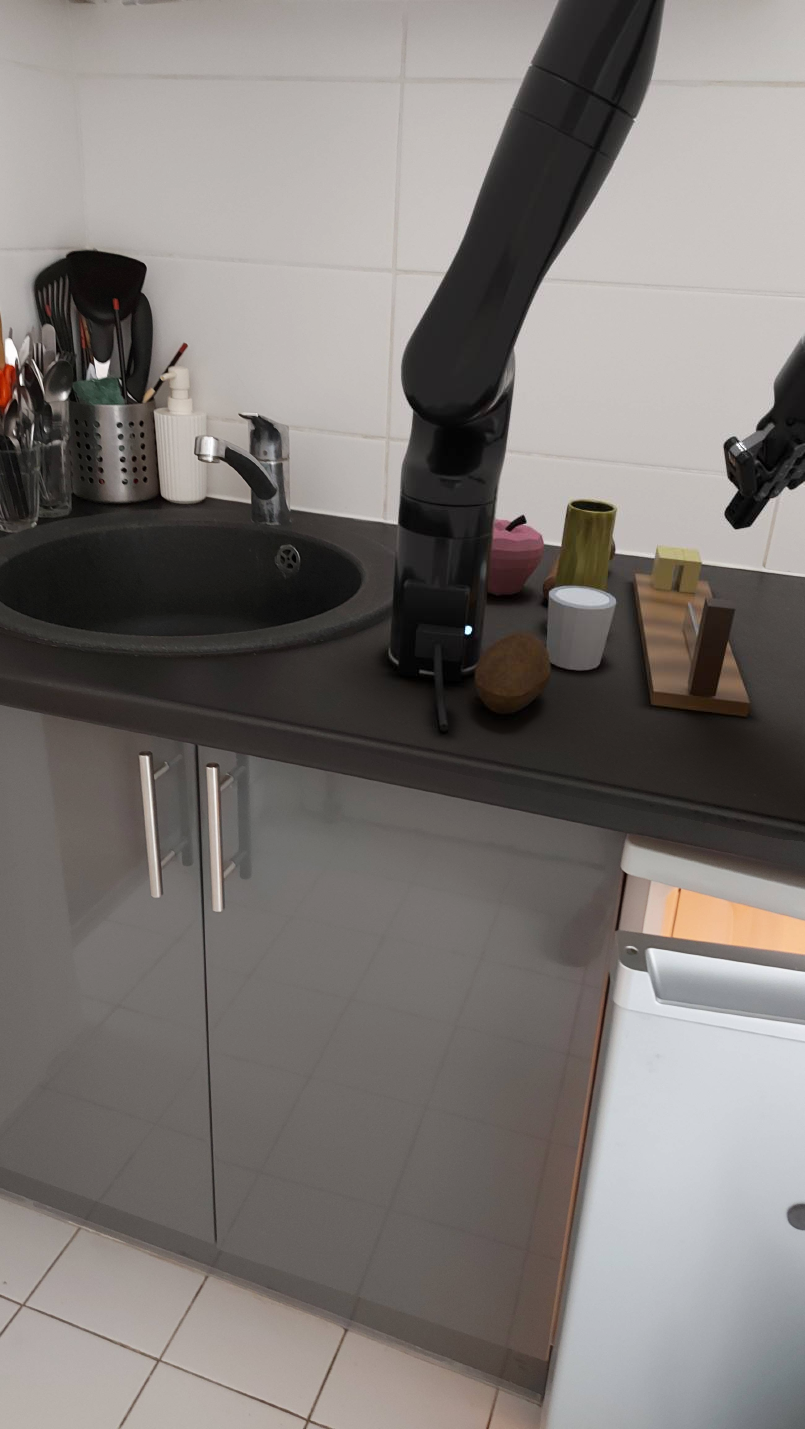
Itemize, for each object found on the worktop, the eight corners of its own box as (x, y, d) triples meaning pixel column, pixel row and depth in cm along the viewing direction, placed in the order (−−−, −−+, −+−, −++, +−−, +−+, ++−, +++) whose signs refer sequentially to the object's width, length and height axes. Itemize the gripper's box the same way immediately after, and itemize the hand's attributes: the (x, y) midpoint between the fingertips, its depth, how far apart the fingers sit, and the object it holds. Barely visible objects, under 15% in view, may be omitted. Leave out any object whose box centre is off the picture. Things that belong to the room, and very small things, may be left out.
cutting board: (746, 717, 96) (750, 702, 95) (650, 705, 97) (653, 691, 96) (704, 592, 128) (707, 581, 127) (633, 584, 129) (635, 573, 128)
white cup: (565, 676, 101) (575, 611, 98) (527, 651, 107) (535, 588, 104) (619, 667, 104) (630, 603, 101) (579, 642, 110) (589, 581, 107)
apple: (523, 579, 127) (532, 501, 123) (549, 604, 120) (560, 522, 115) (451, 581, 125) (458, 502, 120) (472, 606, 118) (481, 523, 113)
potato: (458, 724, 90) (465, 653, 87) (485, 675, 100) (492, 609, 97) (533, 738, 89) (542, 666, 86) (552, 687, 99) (562, 621, 96)
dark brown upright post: (715, 696, 95) (735, 608, 91) (689, 693, 95) (708, 605, 91) (695, 626, 111) (711, 549, 107) (673, 623, 112) (688, 547, 108)
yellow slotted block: (695, 593, 122) (702, 562, 121) (653, 588, 123) (659, 557, 121) (691, 580, 127) (697, 549, 125) (651, 576, 127) (656, 545, 125)
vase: (550, 640, 110) (569, 511, 103) (541, 620, 115) (558, 496, 109) (606, 643, 110) (627, 515, 104) (594, 622, 116) (614, 499, 109)
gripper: (878, 319, 80) (764, 483, 94) (756, 329, 74) (655, 502, 88) (940, 380, 77) (813, 540, 90) (818, 395, 71) (702, 564, 85)
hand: (735, 521), depth 89 cm, fingers closed
